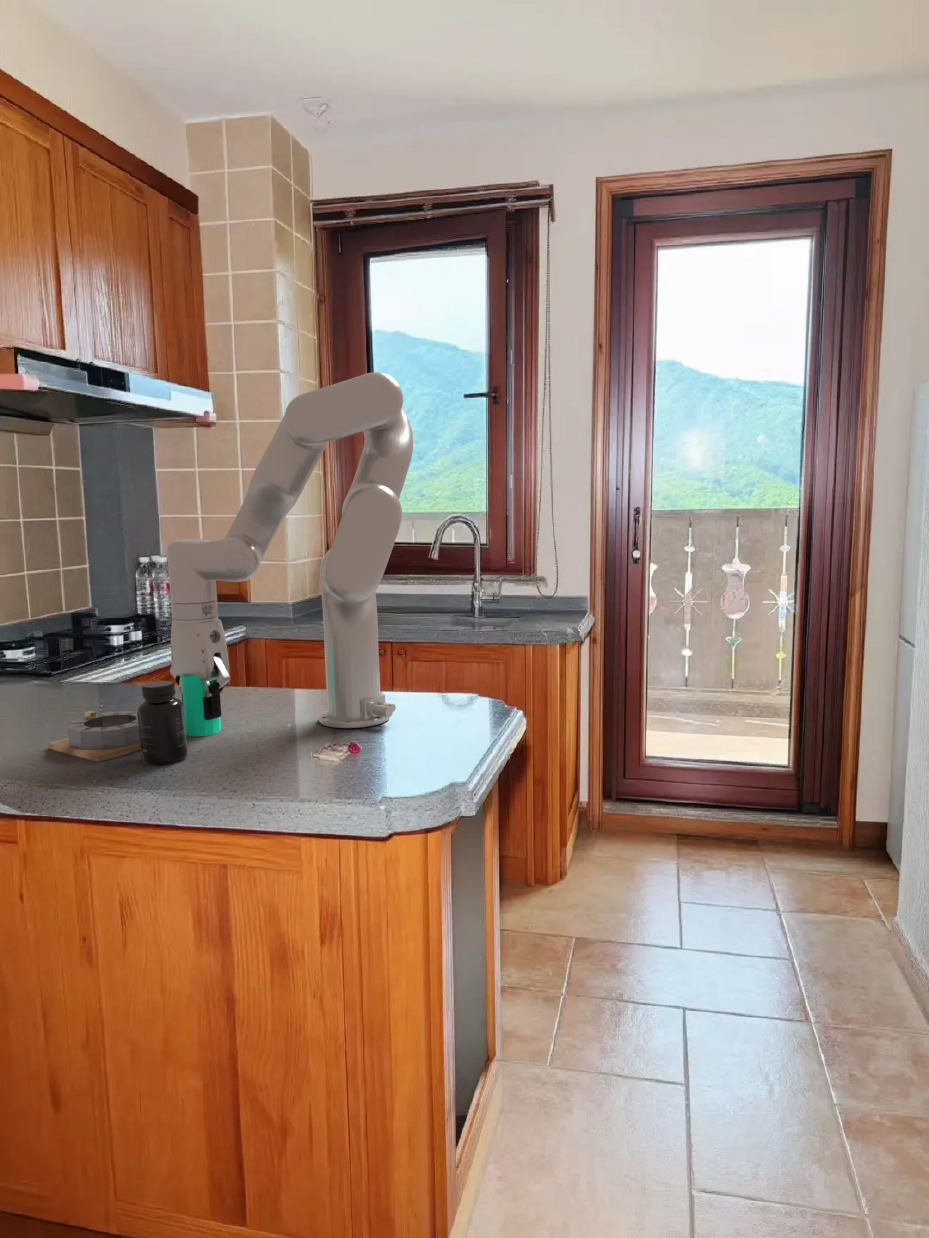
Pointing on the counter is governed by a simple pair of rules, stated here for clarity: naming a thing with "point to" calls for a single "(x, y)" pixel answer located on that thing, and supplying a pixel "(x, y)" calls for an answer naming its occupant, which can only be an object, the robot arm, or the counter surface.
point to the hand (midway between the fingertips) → (202, 715)
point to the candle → (197, 708)
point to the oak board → (92, 754)
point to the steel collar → (104, 730)
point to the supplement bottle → (161, 724)
